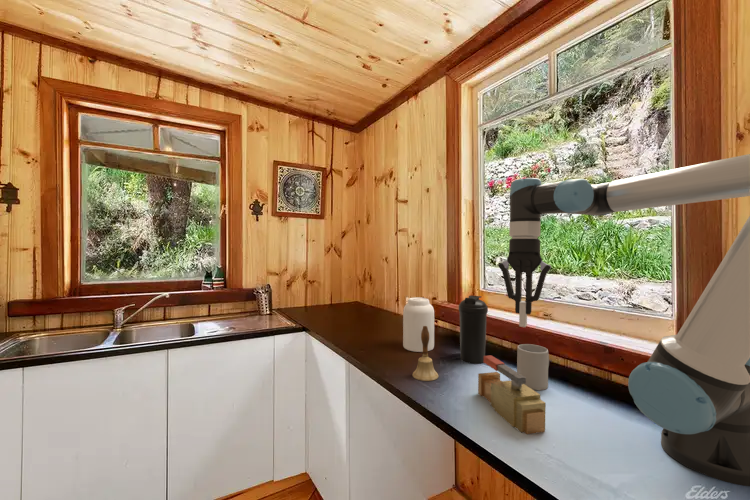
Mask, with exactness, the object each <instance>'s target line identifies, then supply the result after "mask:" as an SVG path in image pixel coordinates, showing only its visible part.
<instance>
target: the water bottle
mask: <svg viewBox="0 0 750 500" xmlns="http://www.w3.org/2000/svg"><path fill="white" fill-rule="evenodd" d="M480 298H482V296H480V295H468V297H465V298H464V299H463V300H461V302H460V303H459V304H458V312H459V343H460V344H459V345H460V346H459V349H460V350H459V351H460V352H459V354H460V360H461V362H463V363H466V364H474V365H478V364H480V365H481V364H485V363H484V356H486V341H487V340H486V339H487V315H488V312H489V311H488V309H489V307H488V305H487V303H486V302H485V301H484V300H483V299H482V300H481V299H480Z"/></svg>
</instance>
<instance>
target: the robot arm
mask: <svg viewBox="0 0 750 500" xmlns="http://www.w3.org/2000/svg"><path fill="white" fill-rule="evenodd" d="M508 197H509V229H508V230H509V232H508V233H509V237H510V239H509V242H508V243H509V244H508V247H509V248H508V255H507V258H506V260H504V261H502V262H501V263H499V264H497V265H498V267H499V269H500V271H501V272H502V276H503V280H504V281H503V282H504V285H505V289H506V293H507V298H508V299H511V300H513V301H515V303H514V304H515V305H514V306H515V308H514V309H515V310H514V312H515V314H519V316H518V319H519V320H518V321H519V322H518V323H519V324H518V327H521V328H526V327H527V325H528V315H531V314H532V310H533V309H532V307H533V305H532V303H533V302H538V300H539V299H540V297H541V294H542V290H543V287H544V284H545V280H546V277H547V274H548V272H550V270H551V269H552V265H551V264H549V263H548V264H547V263H546V262H544V261H543V258H542V256H541V239H540V238H538V237H541V220H542V219H541V217H542V215H549V214H551V215H553V214H570V215H571V214H572V215H585V216H586V215H588V216H592V217H593V216H594V217H598V216H607V215H609V214H612V213H619V212H627V211H635V210H636V211H637V210H644V209H650V208H651V209H653V208H661V207H669V206H677V205H685V204H687V205H688V204H695V203H703V202H711V201H712V202H713V201H718V200H727V199H735V198H736V199H738V198H745V197H750V153H748V154H743V155H739V156H738V155H737V156H733V157H729V158H728V157H727V158H723V159H719V160H713V161H708V162H703V163H702V162H701V163H698V164H693V165H688V166H683V167H678V168H673V169H667V170H662V171H658V172H653V173H648V174H643V175H637V176H633V177H627V178H622V179H617V180H612V181H608V182H602V183H598V184H591V183H590V182H589V181H588V180H587V179H585V178H574V179H572V178H569V179H565V180H560V181H555V182H549V183H544V184H542V180H541V178H538V177H526V178H518V179H515V180H513V181H512V182H511V183H510V192H509V196H508ZM510 267H511V268H512V269H513V271H514V272H515V273H514V275H515V288H514V287H513V283H512V279H511V275H510V270H509V268H510ZM538 267H540V268H539V270H540V271H541V272H540V274H539V277H538V280H537V283H536V287H535V291H534V294H533V274H534V272H535V271H536V270H537V268H538ZM523 273H525V300H522V299H523V298H522V290H523V289H522V288H523V285H522V284H523ZM514 289H515V291H514ZM652 352H653V353H652V354H651V356H650V357H649V358H648V360H647V362H642V363H640V364H639V365H637V366H636V367H635V368H634V369H633V370H631V373H630V374H629V376H628V380H627V381H628V385H627V386H628V391H629V394H630V396H631V397H632V399H633V402H634V404H635V405H636V407H637V408H638V409H639V411H640V412H641V413H642V414H643V415H644V416H645V417H646V418H647V419H649V420H650V421H651V422H653V423H654V424H655V425H657V426H659V427H660V428H662V430H661V436H660V444H661V448H662V449H663V451H665V453H667V454H668V455H669V457H671V458H673V459H674V460H675V461H677V462H678V463H680V464H681V465H683V466H685V467H687V468H688V469H690V470H693V471H695V472H697V473H699V474H702V475H705V476H707V477H709V478H712V479H715V480H717V481H721V482H725V483H729V484H732V485H733V484H734V485H737V486H741V487H742V486H743V487H750V215H749V216H748V218H747V219H746V221H745V223H744V224H743V226H742V227H741V229H740V231H739V233H738V234H737V236H736V237H735V238H734V241H733V242H732V244H731V246H730V247H729V249H728V250H727V252H726V254H725V255H724V257H723V258H722V261H721V262H720V263H719V265H718V267H717V269H716V270H715V272H714V273H713V275H712V277H711V278H710V279H709V281H708V283H707V285H706V287H705V288H704V290H703V291H702V293H701V294H700V296H699V298H698V300H697V301H696V303H695V304H694V306H693V308H692V309H691V312H690V313H689V314H688V316H687V318H686V319H685V321H684V323H683V324H682V326H681V327H680V329H679V331H678V332H677V334H673V335H666V336H663V337H662V338H661V339H660V341H659V342H658V344H657V346H656V348H654V350H653V351H652Z"/></svg>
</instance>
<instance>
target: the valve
mask: <svg viewBox="0 0 750 500" xmlns="http://www.w3.org/2000/svg"><path fill="white" fill-rule="evenodd" d="M477 377H478V378H477V379H478V380H477V381H478V384H477V394H478V395H479V396H480V397H483V398H485V400H487V401H488V402H489V403H490V406H491V408H493V410H494V411H495V412H496V413H497V414H498V415H499V416H500V417H501V418H502V419H503V420H504V421H506V422H507V423H508V424H509V425H510V426H511V427H513V428H515V429H517V430H518V431H519V433H525V434H526V435H532V434H538V433H545V432H546V431H545V430H546V409H547V408H546V405H547V404H546V402H545V401H544V400H542V399H541V394H540V393H539V392H537V391H536V390H532V389H531V388H529V387H528V386H526V385H525V384H522V390H521V391H515V390H513V389H512V388H511V380H505V381H504V380H503V381H502V380H501V373H500V372H499V371H492V372H482V373H477Z"/></svg>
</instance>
